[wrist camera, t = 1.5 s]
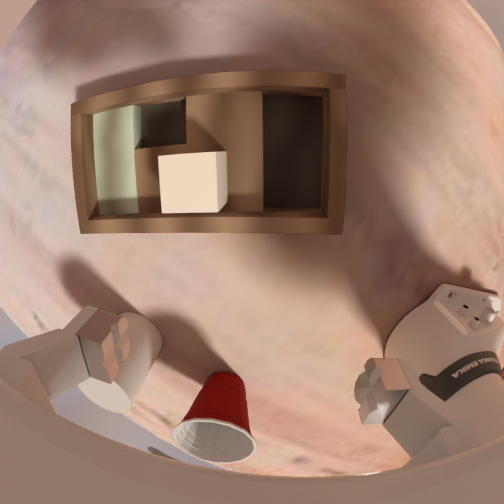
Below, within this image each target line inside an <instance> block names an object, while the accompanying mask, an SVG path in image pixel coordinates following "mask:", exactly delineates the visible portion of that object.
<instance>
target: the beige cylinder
mask: <svg viewBox="0 0 504 504" xmlns="http://www.w3.org/2000/svg"><path fill="white" fill-rule="evenodd" d="M119 315H121V316H124V317H125V318H126V319H127V322H128V328H127V330H126V331H125V332H126V333H127V335H128V336H129V338H130V350H129V353H128V357H127V358H126V360H125V362H124V363H122V364H120V365H118V369H119V372H118V374H117V375H116V377H115V379H114V380H113V382H112V384H108V383H106V382H103V381H100V380H97V379H94V378H92V377H90V378H89V379H87V380H85V381H84V382H82V383H80V384H78V385H77V386H78V387H79V388H80V390H81V391H82V392H83V393H84V394H85V395H86V396H87V397H88V398H89V399H90V400H91V401H93V402H94V403H96V404H97V405H98V406H100V407H102V408H104V409H106V410H109V411H112V412H116V413H125V412H128V411H129V410H130V408H131V406H132V404H133V402H134V400H135V398H136V396H137V394H138V392H139V390H140V388H141V386H142V384H143V382H144V380H145V378H146V376H147V374H148V372H149V371H150V369H151V367H152V365H153V363H154V361H155V359H156V357H157V355H158V353H159V351H160V349H161V347H162V338H161V335H160V333H159V331H158V329H157V328H156V327H155V325H154V324H153V323H152V322H150V321H149V320H148V319H147V318H145V317H143V316H141V315H139V314H136V313H132V312H124V313H121V314H119Z"/></svg>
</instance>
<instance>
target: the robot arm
mask: <svg viewBox="0 0 504 504" xmlns="http://www.w3.org/2000/svg"><path fill="white" fill-rule="evenodd" d="M500 311H501V299H500V297H499V296H498V295H495V294H491V293H487V292H482V291H478V290H473V289H469V288H464V287H460V286H455V285H451V284H442V285H440V286H439V287H438V288H437V289H436V290H435V291H434V293H433V294H432V295H431V296H430V298H429V299H428V300H427V301H425V302H424V303H423V304H421V305H420V306H418V307H417V308H415V309H414V310H412V311H411V312H410V313H409V314H408V315H406V316H405V317H404V318H403V319H402V320H401V321H400V322H399V324H398V325H397V326H396V327H395V329H394V330H393V332H392V333H391V335H390V337H389V339H388V341H387V344H386V347H385V358H369V359H368V360H367V362H366V364H365V365H364V367H365V372H363V373H362V374H360V375H359V377H358V379H357V381H356V383H355V388H354V395H355V399H356V401H357V402H358V403H359V404H360V405H361V406H360V408H359V409H358V411H359V415H360V419H361V423H362V424H383V426H384V427H385V428H386V429H387V431H388V432H389V433H390V434H391V435H392V436H393V437H394V438H395V440H396V441H397V442H398V443H399V444H400V445H401V446H402V448H403V449H404V450H405V451H406V452H407V453H408V454H409V455H410V457H411V459H409V460H408V461H407V462H406V463H405V464H404V465H403V466H402V468H398V469H393V470H387V471H380V472H373V473H365V474H356V475H344V476H324V477H290V476H271V475H258V474H248V473H240V472H233V471H226V470H219V469H214V468H208V467H203V466H198V465H193V464H189V463H185V462H180V461H176V460H172V459H169V458H165V457H161V456H158V455H155V454H151V453H148V452H145V451H142V450H139V449H136V448H133V447H130V446H127V445H124V444H122V443H119V442H116V441H114V440H111V439H109V438H106V437H104V436H101V435H99V434H97V433H94V432H92V431H90V430H88V429H86V428H83V427H81V426H79V425H77V424H75V423H73V422H71V421H69V420H67V419H65V418H63V417H61V416H59V415H57V412H56V410H55V408H54V406H53V404H52V402H51V400H52V399H54V398H55V397H57V396H59V395H61V394H62V393H64V392H66V391H68V390H70V389H71V388H73V387H75V386H76V385H78V384H80V383H82V382H84V381H85V380H87V379H89V378H90V377H92V378H94V379H97V380H100V381H103V382H106V383H108V384H112V382H113V380H114V379H115V377H116V375H117V374H118V372H119V369H118V365H120V364H122V363H124V362H125V360H126V358H127V357H128V353H129V350H130V338H129V336H128V335H127V333H126V332H125V331H126V330H127V328H128V322H127V319H126V318H125V317H124V316H121V315H118V314H114V313H111V312H108V311H105V310H102V309H98V308H96V307H93V306H90V305H89V306H85V307H84V308H83V309H82V310H81V311H80V312H79V313H78V314H77V315H76V316H75V317H74V318H73V319H72V320H71V321H70V322H69V323H68V324H67V326H66V327H65V328H64V329H63V330H61V329H56V330H53V331H50V332H47V333H44V334H41V335H37V336H34V337H31V338H28V339H25V340H22V341H18V342H15V343H12V344H9V345H6V346H5V347H4V348H3V349H2V350H1V351H0V504H504V381H503V380H504V368H503V369H502V371H501V367H500V363H499V360H498V357H499V354H500V351H501V348H502V345H503V342H504V323H503V321H502V320H501V319H500V318H499V316H500Z"/></svg>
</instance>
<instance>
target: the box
mask: <svg viewBox="0 0 504 504" xmlns="http://www.w3.org/2000/svg"><path fill="white" fill-rule="evenodd" d="M222 151H227V189H228V202H227V203H226V204H225V205H224V206H223V207H222V208H221V210H220V211H219V212H206V213H162V207H161V195H160V181H159V164H158V156H163V155H174V154H187V153H202V152H222ZM71 152H72V168H73V180H74V190H75V199H76V207H77V214H78V220H79V227H80V232H81V234H92V233H291V234H336V235H342V232H343V219H344V205H345V186H346V157H347V110H346V82H345V75H344V74H335V73H324V72H310V71H286V70H258V71H234V72H220V73H209V74H200V75H192V76H184V77H178V78H171V79H165V80H160V81H154V82H149V83H144V84H140V85H135V86H131V87H127V88H123V89H119V90H115V91H111V92H107V93H104V94H100V95H97V96H94V97H91V98H87V99H84V100H81V101H78V102H75V103H72V104H71Z"/></svg>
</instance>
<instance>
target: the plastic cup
mask: <svg viewBox="0 0 504 504" xmlns="http://www.w3.org/2000/svg"><path fill="white" fill-rule="evenodd" d="M172 439H173V440H174V442H175V444H176V445H177V446H178V447H179V448H180V449H181V450H183V451H184V452H185V453H187V454H189V455H191V456H193V457H195V458H197V459H200V460H204V461H208V462H213V463H235V462H240V461H244V460H246V459H247V458H249V457H251V456H253V454H254V452H255V451H256V449H257V447H256V443H255V439H254V437H253V436H252V435H251V431H250V428H249V418H248V408H247V401H246V392H245V386H244V383H243V381H242V380H241V378H240V377H238V376H237V375H235V374H233V373H229V372H217V373H214V374H212V375H211V376H210V377H209V378H208V379H207V380H206V382H205V384H204V386H203V388H202V390H201V391H200V392H199V394H198V395H197V397H196V399H195V401H194V402H193V404H192V406H191V408H190V410H189V411H188V413H187V415H186V416H185V417H184V419H183V420H182V421H181V422H180V423H179V424H178V425H177V426H176V427H174V429H173V433H172Z"/></svg>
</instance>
